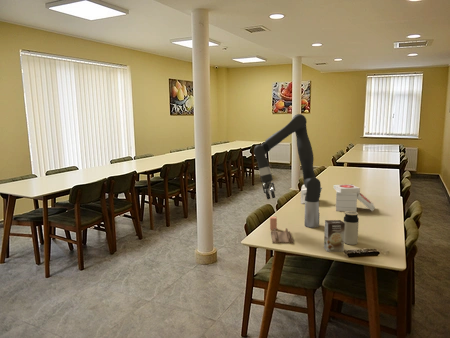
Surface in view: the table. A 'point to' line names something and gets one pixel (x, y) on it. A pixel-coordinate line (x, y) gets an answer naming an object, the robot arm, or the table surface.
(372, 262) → the table surface
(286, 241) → the walnut rack
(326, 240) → the coffee box
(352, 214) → the travel mug
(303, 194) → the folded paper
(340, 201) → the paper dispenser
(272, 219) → the terracotta block
